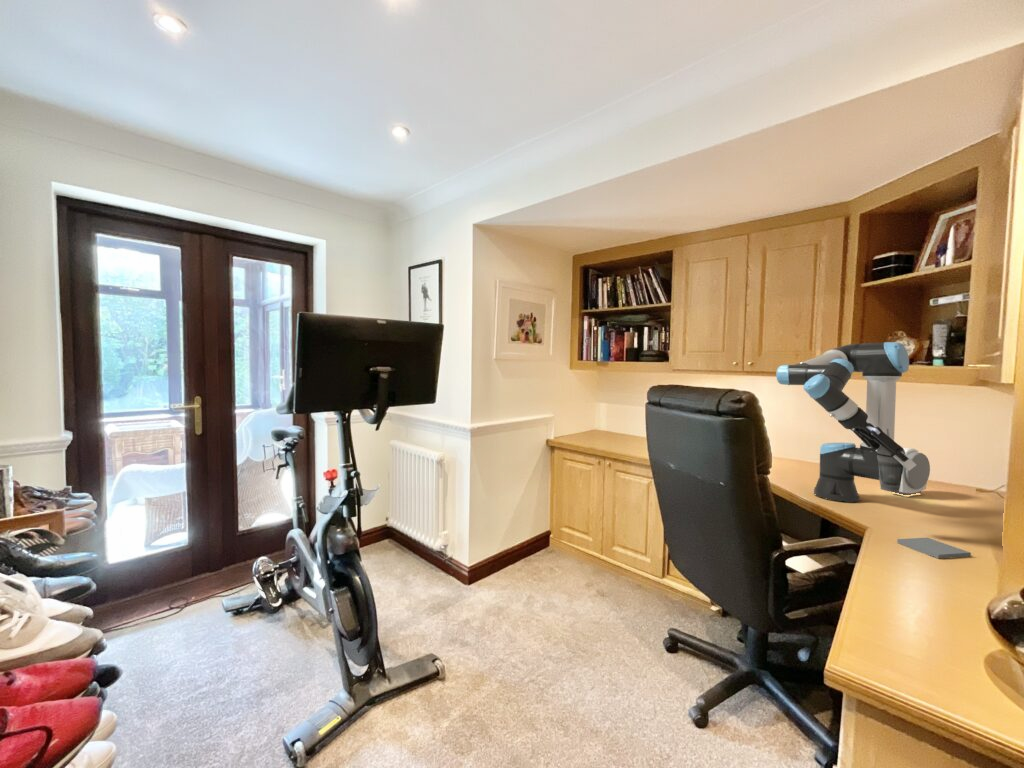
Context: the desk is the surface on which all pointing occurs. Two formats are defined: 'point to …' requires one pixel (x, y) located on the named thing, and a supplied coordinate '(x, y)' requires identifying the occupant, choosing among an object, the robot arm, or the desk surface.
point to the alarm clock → (915, 473)
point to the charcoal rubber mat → (933, 547)
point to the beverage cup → (889, 470)
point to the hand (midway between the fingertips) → (903, 464)
